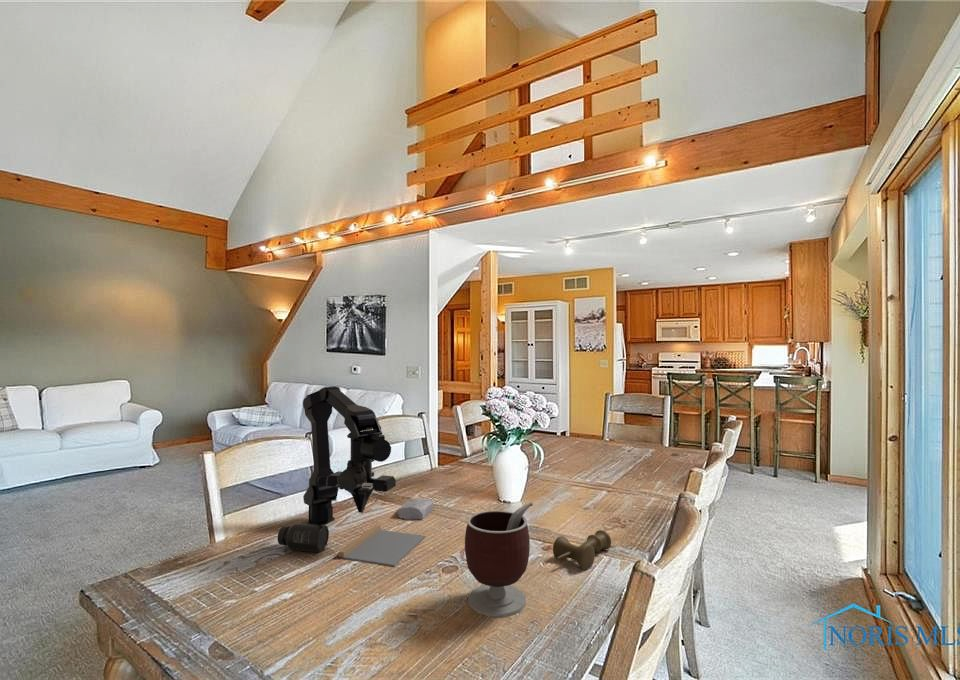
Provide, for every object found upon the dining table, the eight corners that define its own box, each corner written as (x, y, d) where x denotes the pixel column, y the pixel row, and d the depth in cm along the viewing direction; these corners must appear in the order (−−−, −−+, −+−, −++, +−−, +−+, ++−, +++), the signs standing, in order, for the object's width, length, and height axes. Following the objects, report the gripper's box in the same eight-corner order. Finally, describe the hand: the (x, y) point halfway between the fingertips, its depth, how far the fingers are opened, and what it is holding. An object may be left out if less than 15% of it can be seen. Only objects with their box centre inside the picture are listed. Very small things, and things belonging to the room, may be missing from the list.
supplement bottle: (328, 519, 129) (287, 516, 131) (316, 533, 123) (273, 530, 125) (330, 542, 130) (290, 539, 132) (318, 558, 124) (276, 554, 126)
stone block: (396, 524, 150) (425, 520, 149) (393, 509, 151) (423, 505, 149) (408, 513, 162) (436, 509, 160) (406, 499, 162) (434, 494, 161)
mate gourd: (480, 625, 93) (480, 522, 93) (455, 592, 106) (455, 501, 106) (548, 608, 99) (548, 512, 99) (517, 578, 112) (517, 493, 112)
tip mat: (338, 557, 122) (338, 551, 122) (375, 530, 140) (375, 525, 140) (394, 566, 118) (394, 560, 118) (425, 537, 136) (425, 531, 136)
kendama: (620, 555, 125) (573, 578, 112) (589, 545, 133) (542, 565, 119) (619, 532, 126) (572, 552, 112) (589, 523, 133) (542, 540, 120)
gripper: (314, 459, 127) (313, 518, 126) (376, 464, 121) (376, 526, 121) (338, 451, 137) (338, 505, 137) (396, 455, 132) (396, 512, 131)
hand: (360, 512), depth 131 cm, fingers closed
